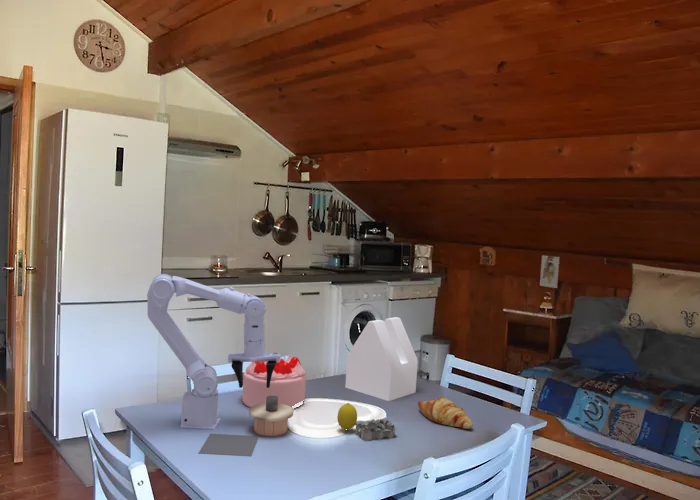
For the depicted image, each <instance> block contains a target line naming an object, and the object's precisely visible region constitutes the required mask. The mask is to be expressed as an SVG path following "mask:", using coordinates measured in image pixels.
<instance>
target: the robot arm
mask: <svg viewBox="0 0 700 500" xmlns="http://www.w3.org/2000/svg"><path fill="white" fill-rule="evenodd" d="M174 294H176V295H175V296H176V298H177V297H181V296H184V295H191V296H194V297H198V298H202V299H205V300H209V301H213V302H215V303H216V305H217V307H218V308H220V309H223V310H226V311H229V312H233V313H235V314H239V315H240V314H241V315H242V314H244V323H243V353H241V352H240V353H239V352H238V353H229V354H228V355H227V363H231V365H230V366H231V368H232V370H233V372H234V374H235V376H236V379H237V382H238V387H239V388H240V389H243V376H244V372H243V366H244V365H243V364H244V363H246V362H247V363H249V362H250V363H252V362H268V363H267V364H266V368H267V384H266V385H267V388H269V387H270V381H271V376H272V373H273V370H274V367H275V365H276V363H277V362H280V358H281V354H280V353H278V354H273V353H271V352H266V351H265V322H264V321H265V314H266V312H267V311H266V310H267V308H266V306H265V304H264V302H263V301H262V299H261V298H260V297H258V296H256V295H255V294H254V295H253V294H251V293H249V292H247V293H243V292H241V291H237V290H235V288H234V287H231V286H229V288H228V287H224V288H222V289H215V288H213V287H210V286H207V285H205V284H202V283H199V282H196V281H193V280H191V279H189V278H188V279H187V278H184V277H181V276H177V275H170V274H168V273H160V274H158V275H156V276H155V277H154V278H153V280H152V282H151V284H150V286H149V288H148V291H147V294H146V296H147V297H146V298H147V317H148V320H149V321H150V322H151V324H152V326H154V328H155V329H156V330H157V332H159V334H160V336H161V337H162V338H163V340H164V341H165V342H166V345H168V346H169V348H170V349H171V351H172V352H173V353H174V355H175V356H176V357H177V359H178V361H180V363H181V364H182V365H183V368H185V370H186V372H187V375H188V377H189V378H190V380H191V381H192V383H193V389H191V391H186V392H184V394H183V397H182V402H181V413H180V414H181V416H180V417H181V418H180V419H181V421H180V426H179V427H180V428H185V429H186V428H187V429H203V430H204V429H205V430H206V429H207V430H215V429H216V428H217V427H218V425H219V423H220V421H221V417H218V404H219V403H218V402H219V401H218V400H219V390H218V389H217V388H218V383H219V382H218V379H217V376H218V375H217V371H216V369H215V368H214V367H213V366H211V365H209V364H207V363H206V361H205V360H204V359H203V358H202V357H200V355H199V354H198V352H197V351H196V350H195V348H194V347H193V345H192V344H191V343H190V342H189V340H188V339H187V338H186V336H185V335H184V332H182V330H181V329H180V328H179V326H178V325H177V323H176V322H175V321H174V320H173V318H172V317H171V315H170V314H169V312H168V307H169V302H170V301H171V299H172V298H173V296H174Z"/></svg>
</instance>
